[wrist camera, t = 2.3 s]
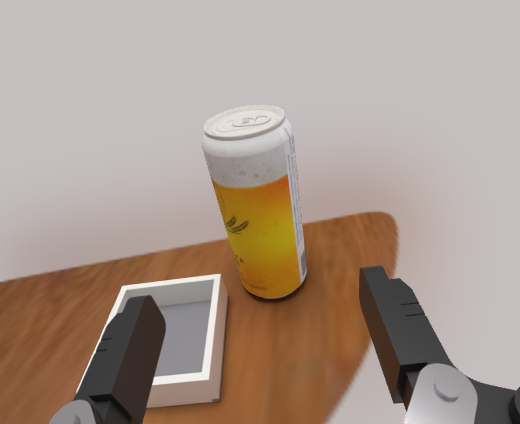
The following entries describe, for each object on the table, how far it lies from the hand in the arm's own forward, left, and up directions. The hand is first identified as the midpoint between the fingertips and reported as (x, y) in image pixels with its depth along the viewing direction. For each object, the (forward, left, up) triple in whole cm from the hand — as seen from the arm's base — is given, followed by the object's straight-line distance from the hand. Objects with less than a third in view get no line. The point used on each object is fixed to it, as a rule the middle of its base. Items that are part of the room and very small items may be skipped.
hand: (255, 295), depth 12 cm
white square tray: (-9, +6, -12) cm, 16 cm away
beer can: (0, +12, -12) cm, 17 cm away
